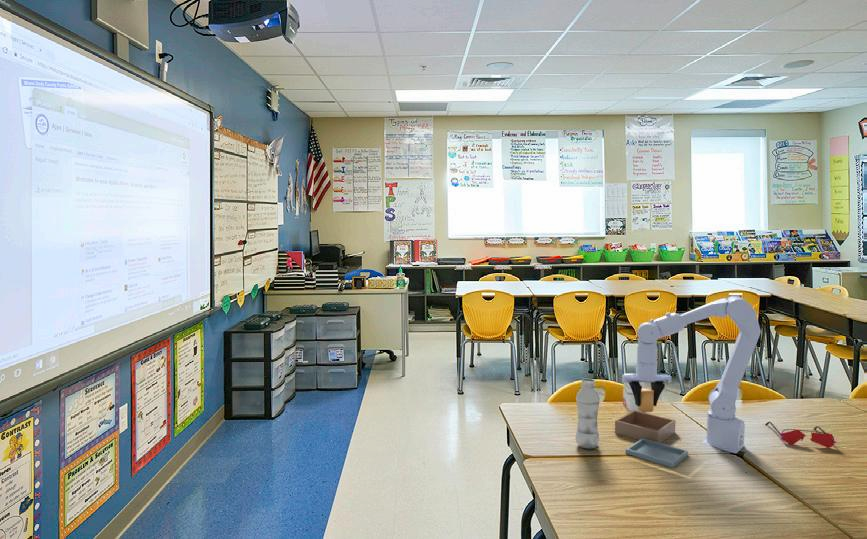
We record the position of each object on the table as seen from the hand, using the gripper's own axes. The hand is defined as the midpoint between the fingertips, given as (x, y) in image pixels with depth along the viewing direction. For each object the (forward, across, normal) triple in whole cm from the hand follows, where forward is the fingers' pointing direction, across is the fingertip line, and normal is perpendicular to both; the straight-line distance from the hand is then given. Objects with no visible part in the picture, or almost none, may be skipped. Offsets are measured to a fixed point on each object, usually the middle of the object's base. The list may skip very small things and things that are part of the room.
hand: (645, 405), depth 164 cm
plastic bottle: (+10, +20, +9) cm, 24 cm away
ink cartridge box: (+10, -5, -23) cm, 26 cm away
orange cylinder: (+1, 0, 0) cm, 1 cm away
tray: (+9, +3, +16) cm, 18 cm away
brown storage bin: (+9, 0, 0) cm, 9 cm away
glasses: (+10, -46, +1) cm, 48 cm away
